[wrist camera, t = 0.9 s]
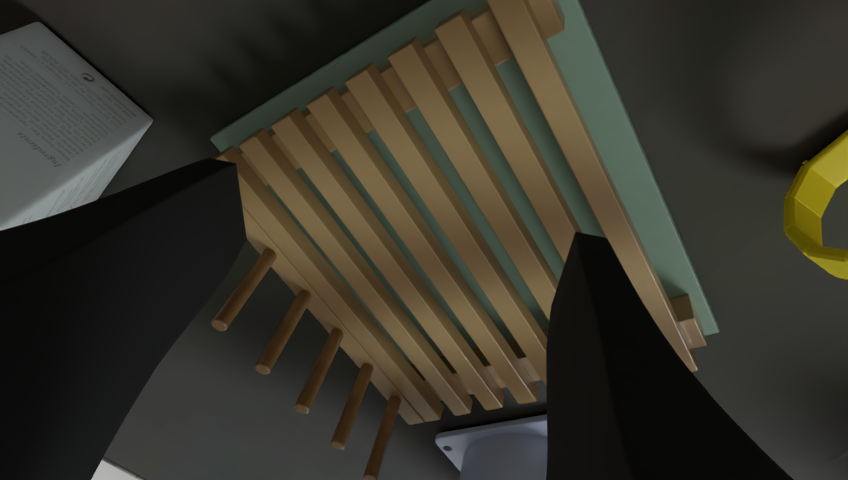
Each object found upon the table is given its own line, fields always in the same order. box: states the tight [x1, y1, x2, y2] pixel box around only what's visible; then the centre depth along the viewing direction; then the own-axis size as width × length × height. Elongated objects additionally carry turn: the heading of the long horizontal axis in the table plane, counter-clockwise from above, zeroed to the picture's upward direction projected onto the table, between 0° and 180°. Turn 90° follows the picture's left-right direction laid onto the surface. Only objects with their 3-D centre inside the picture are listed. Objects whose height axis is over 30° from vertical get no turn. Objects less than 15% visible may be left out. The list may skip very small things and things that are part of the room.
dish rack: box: [210, 0, 719, 480], centre depth 20 cm, size 17×15×7 cm
